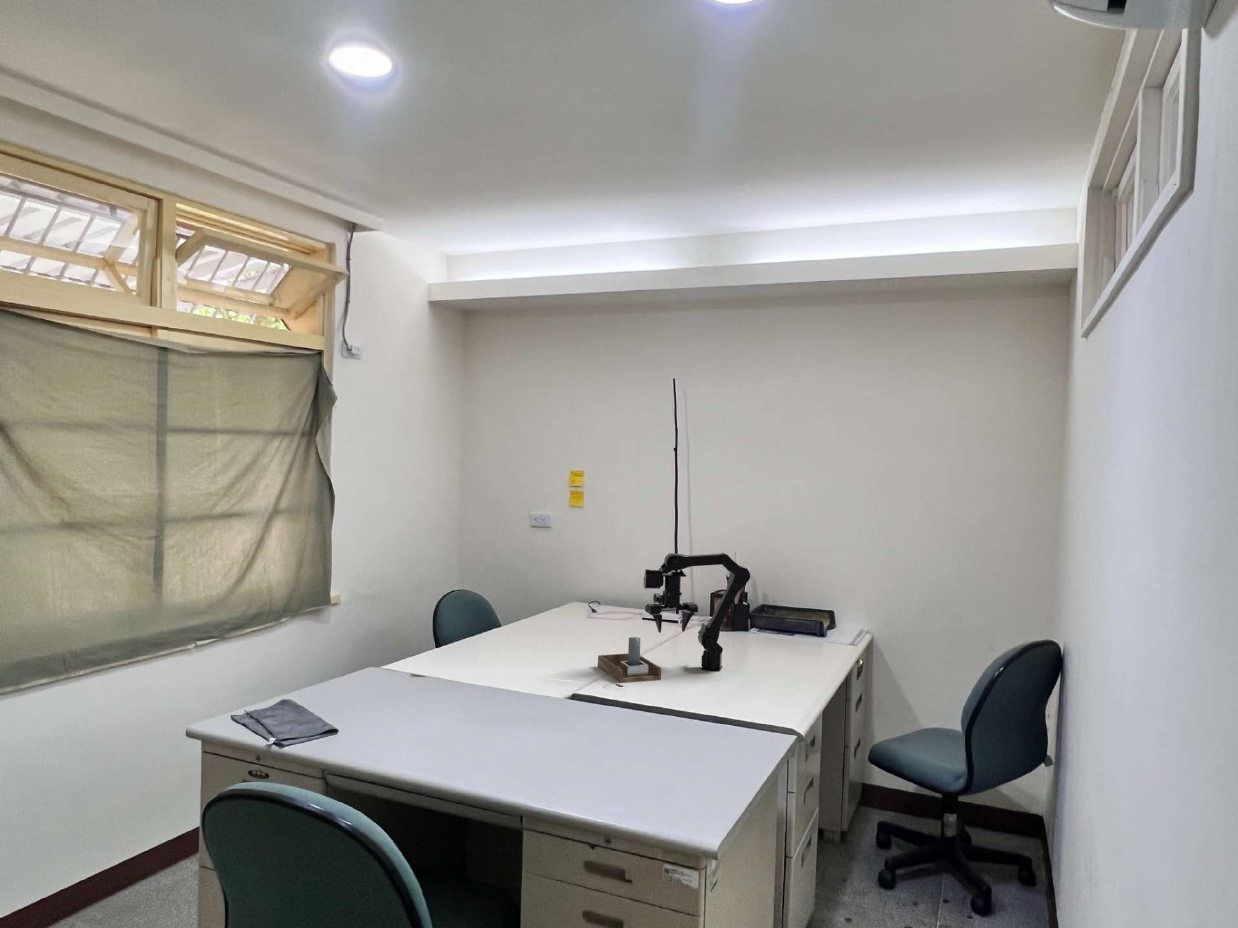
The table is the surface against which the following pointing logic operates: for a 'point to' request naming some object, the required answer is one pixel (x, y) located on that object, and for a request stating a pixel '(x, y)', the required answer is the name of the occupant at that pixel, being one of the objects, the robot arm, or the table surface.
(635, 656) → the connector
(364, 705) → the table surface
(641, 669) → the frame
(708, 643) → the robot arm
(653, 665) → the box
